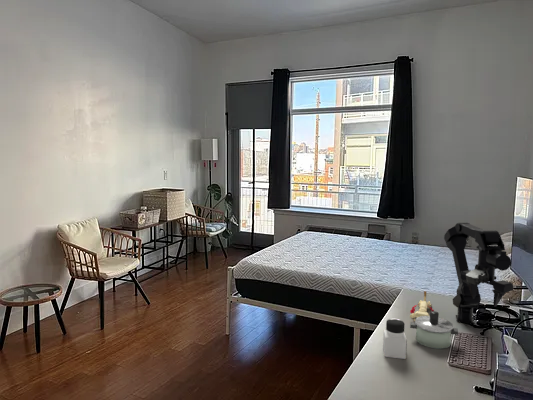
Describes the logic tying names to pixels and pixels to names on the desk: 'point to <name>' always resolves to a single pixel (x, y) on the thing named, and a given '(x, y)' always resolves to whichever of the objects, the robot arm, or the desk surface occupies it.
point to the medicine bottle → (394, 339)
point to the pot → (433, 337)
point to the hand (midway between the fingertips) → (484, 302)
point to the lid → (434, 323)
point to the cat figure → (421, 308)
